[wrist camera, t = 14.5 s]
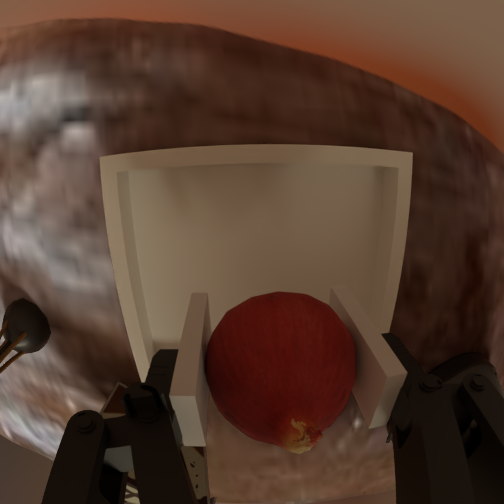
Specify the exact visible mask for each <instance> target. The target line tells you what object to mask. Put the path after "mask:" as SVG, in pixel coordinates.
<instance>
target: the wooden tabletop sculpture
mask: <svg viewBox="0 0 504 504" xmlns="http://www.w3.org/2000/svg"><path fill="white" fill-rule="evenodd" d="M50 334H51V331H50V328H49V324H48V321H47V318H46V317H45V315H44V314H43V313H42V312H41V311H40V309H39V308H38V307H37V305H36V304H34V303H32V302H30V301H28V300H26V299H24V298H22V299H19V300H16V301H13V302H12V303H11V304H10V305H9V306H8V308H7V309H6V311H5V315H4V318H3V323H2V329H1V331H0V339H1V337H2V335H3V336H4V338H5V341H4V342H3V344H2V345H1V346H0V363H1V362H2V361H3V360H4V358H5V357H6V356H7V355H8V354H9V353H10V352H11V351H12V350H15V351H17V352H18V353H17V354H16V355H15V356H13V357H12V358H11V359H9V360H8V361H7V362H6V363H5V364H4V365H3V366H1V367H0V373H1V372H3V371H4V370H5V369H6V368H7V367H8V366H9V365H10V364H11V363H12V362H14V361H15V360H16V359H18V358H19V357H20V356H22V355H23V354H27V353H33V352H36V351H39V350H40V349H42V348H43V347H44V346H45V344H46V343H47V341H48V339H49V336H50Z"/></svg>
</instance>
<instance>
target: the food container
mask: <svg viewBox="0 0 504 504" xmlns="http://www.w3.org/2000/svg"><path fill="white" fill-rule="evenodd" d="M127 387H128V386H126V385H124V384H122V383H121V382H119V381H118V382H117V384H116V385H115V387H114V389H113V390H112V392H111V394H110V396H109V397H108V399H107V401H106V402H105V404H104V406H103V408H102V409H101V411H100V413H99V414H100V415H102V417H103V419H107V418H114V417H119V416H123V415H126V413H125V410H124V408H123V406H122V403H121V401H120V398H121V394H122V393H123V391H124V390H125V389H126V388H127ZM181 450H182V453H183V456H184V459H185V463H186V466H187V469H188V473H189V476H190V479H191V482H192V486H193V489H194V492H195V495H196V498H197V501H198V504H215V502H216V497H213V498H210V493H209V481H208V469H207V455H206V446H184V443H183V440H182V445H181ZM124 504H140V502H139V497H138V491H137V486H136V480H135V474H134V471H129V473H128V479H127V486H126V494H125V502H124Z"/></svg>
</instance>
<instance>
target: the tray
mask: <svg viewBox="0 0 504 504" xmlns="http://www.w3.org/2000/svg"><path fill="white" fill-rule="evenodd" d="M412 161H413V153H412V152H403V151H394V150H384V149H373V148H361V147H346V146H328V145H299V144H246V145H217V146H198V147H184V148H171V149H160V150H150V151H141V152H132V153H124V154H116V155H109V156H102V157H100V172H101V184H102V194H103V204H104V212H105V220H106V227H107V234H108V241H109V247H110V254H111V259H112V265H113V270H114V276H115V281H116V286H117V291H118V295H119V300H120V305H121V309H122V313H123V317H124V322H125V326H126V330H127V334H128V337H129V341H130V345H131V349H132V352H133V356H134V359H135V363H136V366H137V369H138V373H139V376H140V379H141V382H145V380H146V376H147V375H148V374H147V373H148V370H149V368H150V363H151V360H152V357H153V356H154V355H155V354H156V353H157V352H158V351H159V350H160V349H179V346H180V341H181V337H182V332H183V328H184V324H185V319H186V315H187V311H188V306H189V302H190V298H191V294H192V293H208V300H209V311H210V321H211V331H212V333H213V331H214V330H215V328H216V327H217V325H218V324H219V322H220V321H221V319H222V318H223V316H224V315H225V313H226V312H227V311H228V310H230V309H232V308H233V307H235V306H237V305H239V304H240V303H242V302H244V301H245V300H247V299H249V298H250V297H254V296H259V295H263V294H268V293H272V292H277V291H281V292H293V293H303V294H308V295H310V296H312V297H314V298H316V299H318V300H320V301H322V302H324V303H326V304H328V305H329V298H330V288H331V286H343V285H345V286H346V287H347V288H348V290H349V291H350V292H351V294H352V295H353V296H354V298H355V299H356V301H357V302H358V303H359V305H360V306H361V307H362V309H363V310H364V311H365V313H366V314H367V316H368V317H369V318H370V320H371V321H372V322H373V324H374V325H375V327H376V328H377V329H378V331H379V332H380V334H383V333H389V330H390V326H391V322H392V317H393V313H394V308H395V303H396V298H397V293H398V288H399V282H400V277H401V271H402V264H403V258H404V251H405V244H406V236H407V228H408V218H409V208H410V196H411V182H412Z"/></svg>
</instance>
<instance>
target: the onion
mask: <svg viewBox="0 0 504 504" xmlns="http://www.w3.org/2000/svg"><path fill="white" fill-rule="evenodd" d="M355 378H356V362H355V343H354V341H353V338H352V336H351V333H350V331H349V330H348V328H347V327H346V326H345V324H344V323H343V322H342V320H341V319H340V318H339V316H338V315H337V314H336V313H335V311H334V310H333V309H332V308H331V307H330V306H329V305H328V304H326V303H324V302H322V301H320V300H318V299H316V298H314V297H312V296H310V295H308V294H303V293H293V292H281V291H277V292H272V293H268V294H263V295H259V296H254V297H250V298H249V299H247V300H245V301H244V302H242V303H240V304H239V305H237V306H235V307H233V308H232V309H230V310H228V311H227V312H226V313H225V315H224V316H223V318H222V319H221V321H220V322H219V324H218V325H217V327H216V328H215V330H214V331H213V333H212V335H211V337H210V339H209V342H208V344H207V353H206V381H207V384H208V386H209V389H210V392H211V394H212V397H213V400H214V402H215V404H216V406H217V408H218V410H219V411H220V412H221V414H222V415H223V416H224V417H225V418H226V419H227V420H228V421H229V422H230V423H231V424H233V425H234V426H235V427H236V428H238V429H239V430H240V431H241V432H243V433H244V434H246V435H247V436H249V437H251V438H253V439H254V440H258V441H262V442H266V443H270V444H274V445H278V446H281V447H282V448H284V449H286V450H288V451H290V452H293V453H297V454H301V453H303V452H305V451H309V450H310V449H312V448H313V447H314V446H315V445H316V443H317V442H318V440H319V439H320V438H322V437H323V434H322V433H321V432H322V431H324V430H325V429H326V428H328V427H329V426H330V425H331V424H332V423H333V422H334V421H335V420H336V418H337V417H338V416H339V415H340V414H341V412H342V411H343V409H344V408H345V406H346V404H347V401H348V399H349V396H350V394H351V391H352V389H353V386H354V383H355Z"/></svg>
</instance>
